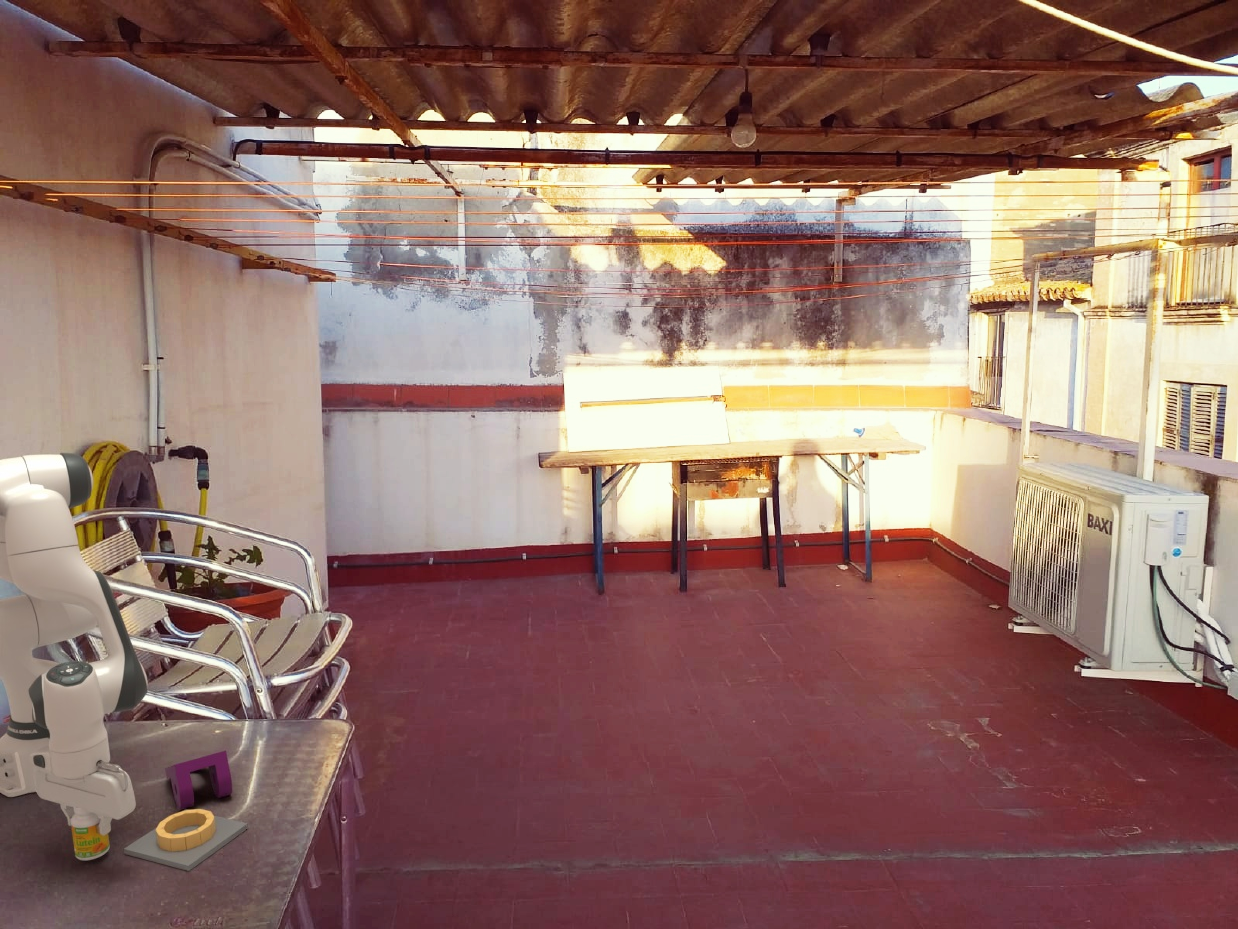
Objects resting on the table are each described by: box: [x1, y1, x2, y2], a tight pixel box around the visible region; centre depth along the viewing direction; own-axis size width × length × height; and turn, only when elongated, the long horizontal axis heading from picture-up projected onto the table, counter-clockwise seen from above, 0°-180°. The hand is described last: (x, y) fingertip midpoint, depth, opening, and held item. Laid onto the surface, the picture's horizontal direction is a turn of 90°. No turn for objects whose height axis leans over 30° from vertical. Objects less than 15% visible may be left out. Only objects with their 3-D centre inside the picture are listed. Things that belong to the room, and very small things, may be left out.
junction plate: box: [123, 808, 249, 872], centre depth 173 cm, size 15×14×4 cm
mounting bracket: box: [164, 750, 233, 811], centre depth 192 cm, size 9×8×18 cm
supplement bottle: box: [70, 806, 110, 861], centre depth 168 cm, size 5×5×10 cm
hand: (89, 829), depth 168 cm, fingers closed on supplement bottle, 5 cm apart
